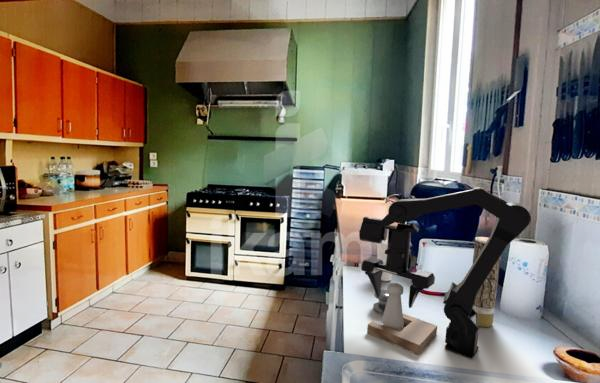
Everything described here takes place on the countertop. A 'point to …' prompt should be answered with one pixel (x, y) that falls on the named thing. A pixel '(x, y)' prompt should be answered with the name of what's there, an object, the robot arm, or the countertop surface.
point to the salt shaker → (393, 307)
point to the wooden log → (486, 289)
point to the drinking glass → (383, 259)
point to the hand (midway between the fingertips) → (394, 301)
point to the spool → (381, 302)
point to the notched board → (406, 333)
